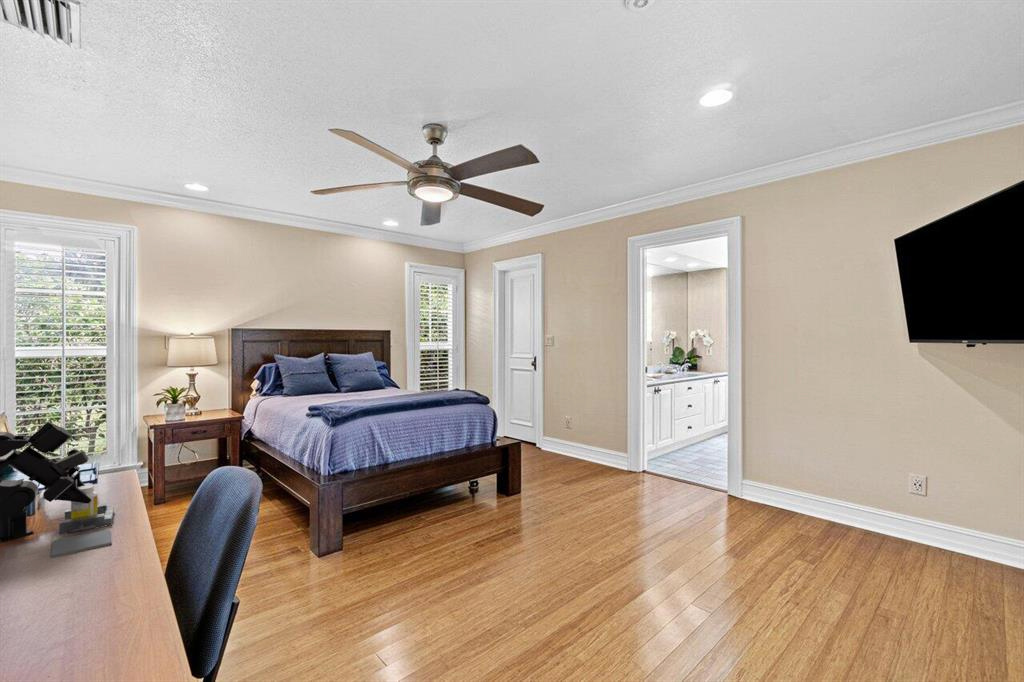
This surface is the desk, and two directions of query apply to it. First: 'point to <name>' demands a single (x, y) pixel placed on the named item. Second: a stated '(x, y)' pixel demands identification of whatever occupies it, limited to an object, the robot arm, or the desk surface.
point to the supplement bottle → (85, 504)
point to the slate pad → (81, 543)
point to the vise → (86, 520)
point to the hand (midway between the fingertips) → (91, 498)
